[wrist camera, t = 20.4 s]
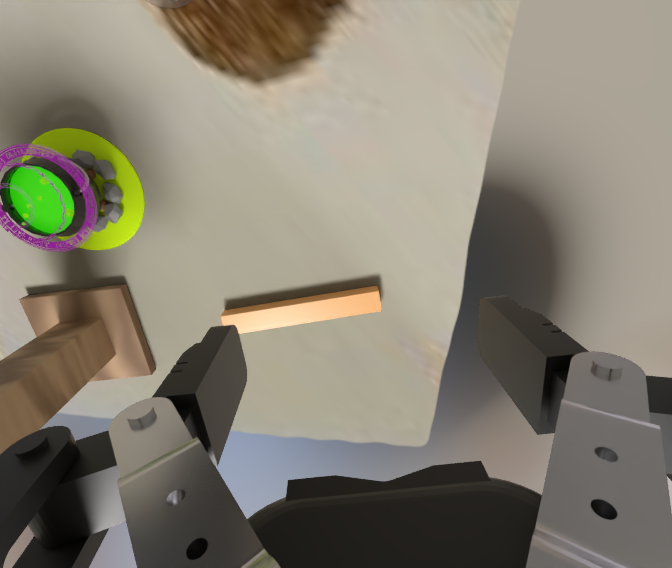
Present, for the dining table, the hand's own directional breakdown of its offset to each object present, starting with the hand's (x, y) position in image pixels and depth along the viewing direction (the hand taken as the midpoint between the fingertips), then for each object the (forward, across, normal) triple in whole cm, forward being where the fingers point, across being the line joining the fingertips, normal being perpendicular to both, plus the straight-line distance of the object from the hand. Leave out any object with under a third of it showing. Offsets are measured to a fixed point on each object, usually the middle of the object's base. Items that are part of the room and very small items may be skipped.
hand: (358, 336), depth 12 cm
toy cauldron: (+37, +32, -4) cm, 48 cm away
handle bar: (+37, +6, +15) cm, 40 cm away
